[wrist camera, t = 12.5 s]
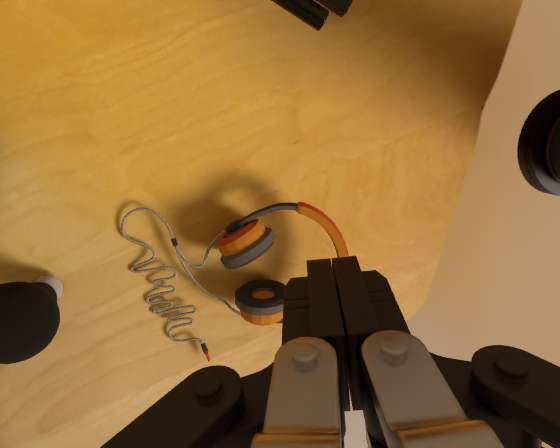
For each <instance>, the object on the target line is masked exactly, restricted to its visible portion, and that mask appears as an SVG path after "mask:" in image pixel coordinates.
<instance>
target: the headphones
mask: <svg viewBox="0 0 560 448" xmlns="http://www.w3.org/2000/svg"><path fill="white" fill-rule="evenodd" d="M138 210H146V211H150V212H153V213H155V214H156V215H158V216H159V217H160V218H161V219H162V221H163V222H164V223H165V225H166V226H167V228H168V230H169V232H170V234H171V237H172V239H171V241H172V243H173V246H175V249H176V251H177V254H178V256H179V259H180V261H181V263H182V265H183V267H184V268H185V270H186V272H187V273H188V275H189V276H190V277H191V279H192V280H193V281H194V282H195V283H196V284H197V285H198V286H199V287H200V288H201V289H202V290H203V291H205V292H206V293H207V294H208V295H210V296H211V297H214V298H216V299H218V300H220V301H222V302H224V303H225V304H226V305H227V306H228V307H229V308H230V309H231V310H232V311H233V312H235V313H237V314H239V315H241V316H242V317H243V318H244V319H245V320H246V321H248V322H250V323H252V324H256V325H270V324H273V323H283V301H284V300H283V298H284V287H285V286H286V285H284V284H282V283H280V282H278V281H273V280H255V281H251V282H248V283H246V284H244V285H242V286H241V287H240V288H238V289H237V291H236V292H235V303H236V306H237V307H238V308H239V309H240V312H241V313H240V312H238V311H236V310H235V309H233V308H232V307H231V306H230V305H229V304H228V303H227V302H226V301H225V300H223V299H222V298H220V297H217V296H215V295H213V294H211V293H210V292H208V291H207V290H206V289H205V288H204V287H202V286H201V285H200V284H199V283H198V282H197V281H196V280H195V278H194V277H193V276H192V275H191V273H190V272H189V270H188V269H187V267H186V265H185V263H184V261H185V262H186V263H188V264H189V265H190V266H192V267H195V268H200V267H203V266H204V265H205V263H206V260H207V256H208V253H209V250H210V248H211V246H212V244H213V243H214V242H215V240H216V239H217V238H219V237H220V236H221V235H223V234H224V233H225V234H224V235H223V236H222V237H221V238H220V240H219V243H218V248H219V251H220V252H221V254H222V257H221V261H222V263H223V264H224V266H225V267H226V268H228V269H235V268H239V267H242V266H244V265H246V264H248V263H250V262H252V261H254V260H255V259H257V258H258V257H260V256H261V255H262V254H263V253H265V252H266V251H267V250H268V249H269V248H270V247H271V245H272V244H273V242H274V239H275V235H274V233H273V231H272V230H271V228H266V227H264V225H263V224H262V222H261V221H259V220H258V219H255V218H257V217H260V216H262V215H265V214H267V213H270V212H273V211H278V210H296V211H297V212H298V213H299V214H302V215H305V216H307V217H309V218H311V219H313V220H314V221H316V222H317V223H319V224H320V225H321V226H322V227H323V228H324V229H325V230H326V231H327V233H328V234H329V236H330V237H331V239H332V241H333V243H334V246H335V249H336V252H337V256H338V257H348V256H349V255H348V251H347V247H346V244H345V241H344V239H343V237H342V234H341V233H340V231H339V229H338V228H337V226H336V225H335V224H334V223H333V221H332V220H331V219H330V218H329V217H328V216H327V215H325V214H324V213H323V212H321V211H320V210H319V209H317V208H315V207H313V206H311V205H309V204H306V203H304V202H298V204H297V203H278V204H274V205H271V206H268V207H265V208H263V209H260V210H258V211H255V212H253V213H251V214H249V215H248V216H246V217H244V218H243V219H241V220H237V221H235V222H233V223H231V224H230V225H228V226H227V227H226V229H225V230H224V231H223V232H221V233H220V234H218V235H217V236H216V237H215V238H214V239H213V240H212V241H211V243H210V244H209V246H208V248H207V250H206V254H205V258H204V261H203V264H202V265H193V264H192V263H190V262H189V261H188V260H187V259H186V258H185V257H184V256H183V254H182V253H181V251H180V249H179V247H178V243H177V240H176V238H174V235H173V233H172V231H171V229H170V226H169V225H168V223H167V222H166V220H165V219H164V218H163V217H162V216H161V215H160V214H159V213H158V212H156V211H154V210H151V209H148V208H136V209H133V210H132V211H130V212H129V213H128V214H127V215H126V216H125V217H124V219H123V221H122V225H121V231H122V234H123V236H124V237H125V238H126V239H127V240H129V241H131V242H134V243H137V244H140V245H143V246H146V247H148V248H149V249H151V251H152V252H153V257H152V258H151V259H149V260H147V261H145V262H143V263H140V264H137V265H134V266H132V267H131V269H130V270H131V271H132V272H134V273H138V272H146V271H153V270H160V269H171V270H173V271H174V272H175V274H174V275H173V276H171V277H167V278H161V279H156V280H154V281H153V285H154V286H155V287H157V288H170V287H172V288H174V289H173V290H171V291H167V292H161V293H157V294H153V295H150V296H148V297H147V298H146V301H147V303H148V304H157V303H170V304H171V305H170V306H166V307H160V308H155V309H153V310H152V312H153V313H154V314H163V313H167V312H171V311H174V310H178V309H183V308H194V311H192V312H187V313H182V314H177V315H173V316H170V317H168V322H175V321H180V320H190V321H191V322H189V323H183V324H179V325H175V326H173V327H171V328H170V329H169V336H170V338H171V339H172V340H173V341H175V342H185V341H191V340H198V341H200V342H201V346H202V349H203V352H204V354H206V357H207V359H208V361H210V357H209V355H208V349H207V347H206V345H205V343H204V342H203V341H202V340H201V339H199V338H190V339H183V340H178V339H174V338H173V337H172V335H171V330H172V329H174V328H176V327H180V326H185V325H190V324H193V322H194V321H193V319H192V318H188V317H187V318H179V319H174V320H170V319H171V318H175V317H179V316H183V315H188V314H193V313H195V312H196V311H197V308H196V307H195V306H193V305H187V306H181V307H177V308H173V309H170V310H166V311H162V312H155V311H156V310H161V309H167V308H170V307H172V306H173V302H172V301H168V300H161V301H156V302H150V301H149V298H151V297H154V296H158V295H163V294H168V293H173V292H175V291H176V287H175V286H174V285H168V286H159V285H156V282H158V281H163V280H169V279H172V278H174V277H176V275H177V271H176V270H175V269H174V268H173V267H169V266H167V267H158V268H151V269H144V270H133V268H135V267H138V266H141V265H144V264H146V263H148V262H150V261H152V260H154V259H155V256H156V254H155V251H154V249H153V248H152V247H151V246H149V245H147V244H144V243H142V242H139V241H136V240H133V239H131V238H129V237H127V236H126V234H125V232H124V223H125V220H126V218H127V217H128V216H129V215H130V214H132V213H133V212H135V211H138ZM182 258H183V259H184V261H183V260H182Z"/></svg>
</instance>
